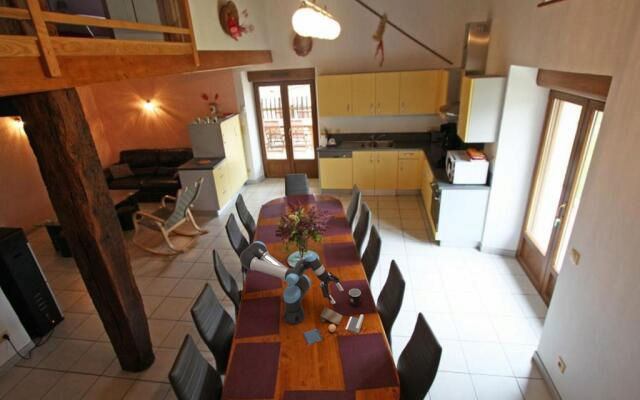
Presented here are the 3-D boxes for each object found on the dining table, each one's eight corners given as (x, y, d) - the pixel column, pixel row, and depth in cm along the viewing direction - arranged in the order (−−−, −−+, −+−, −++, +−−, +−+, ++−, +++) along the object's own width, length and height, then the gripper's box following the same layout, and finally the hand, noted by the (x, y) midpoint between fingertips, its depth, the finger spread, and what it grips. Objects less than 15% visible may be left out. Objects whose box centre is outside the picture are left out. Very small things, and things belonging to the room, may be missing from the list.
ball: (327, 332, 222) (327, 327, 220) (330, 327, 226) (329, 321, 224) (334, 334, 220) (334, 328, 218) (337, 329, 224) (336, 323, 222)
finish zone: (345, 329, 223) (345, 325, 222) (350, 316, 234) (350, 312, 233) (358, 333, 220) (358, 328, 218) (363, 319, 231) (363, 314, 229)
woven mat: (302, 334, 222) (302, 332, 222) (317, 329, 226) (317, 327, 225) (307, 346, 213) (307, 344, 213) (322, 341, 217) (322, 338, 216)
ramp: (320, 321, 232) (320, 315, 229) (325, 312, 239) (324, 306, 237) (338, 325, 227) (338, 319, 225) (342, 316, 234) (342, 310, 232)
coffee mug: (347, 301, 248) (346, 290, 244) (357, 298, 251) (357, 287, 247) (354, 311, 238) (353, 300, 234) (364, 308, 241) (364, 297, 237)
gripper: (316, 282, 216) (334, 308, 219) (332, 260, 236) (349, 284, 239) (308, 285, 221) (326, 310, 224) (325, 263, 241) (341, 286, 243)
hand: (338, 296), depth 231 cm, fingers open, 13 cm apart
